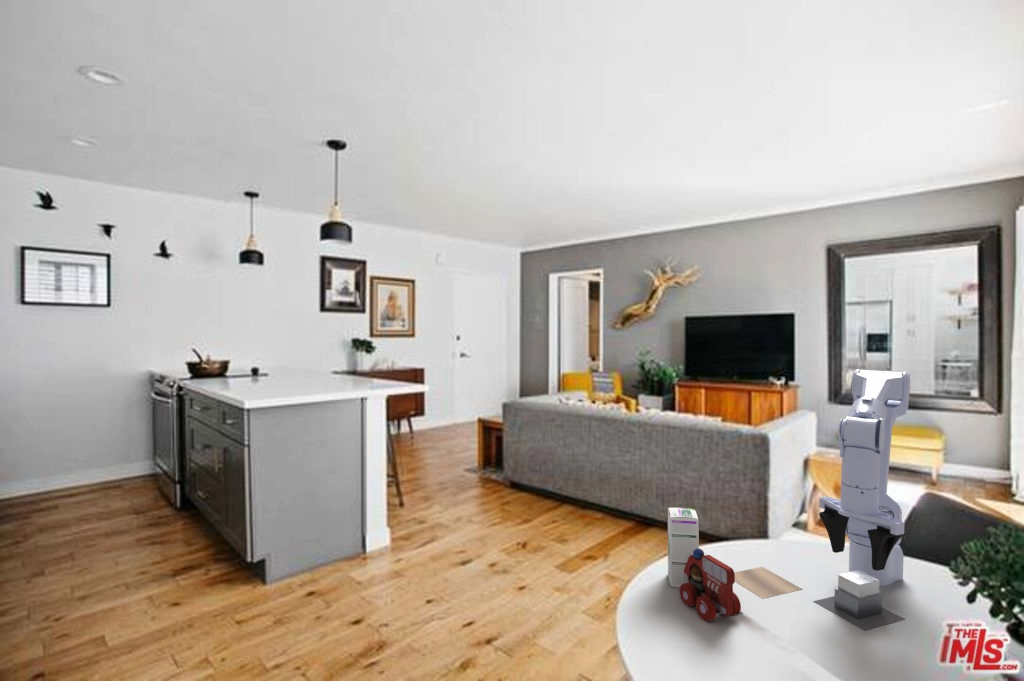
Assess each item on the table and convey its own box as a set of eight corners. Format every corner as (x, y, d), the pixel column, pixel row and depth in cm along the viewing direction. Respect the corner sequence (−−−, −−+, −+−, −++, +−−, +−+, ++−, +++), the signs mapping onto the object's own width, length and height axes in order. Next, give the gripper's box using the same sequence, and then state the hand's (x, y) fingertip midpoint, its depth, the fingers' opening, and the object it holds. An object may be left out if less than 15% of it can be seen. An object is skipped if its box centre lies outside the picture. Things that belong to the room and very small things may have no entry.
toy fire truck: (702, 589, 107) (703, 538, 107) (747, 623, 95) (748, 565, 95) (672, 595, 105) (673, 543, 104) (715, 630, 93) (716, 571, 93)
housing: (857, 600, 100) (858, 569, 100) (881, 613, 96) (882, 580, 95) (834, 606, 98) (835, 574, 98) (857, 619, 94) (858, 586, 93)
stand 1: (762, 573, 114) (762, 566, 114) (802, 596, 104) (802, 589, 104) (724, 581, 110) (724, 574, 110) (762, 606, 101) (762, 598, 101)
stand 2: (851, 599, 103) (851, 591, 103) (905, 627, 94) (905, 619, 94) (812, 609, 100) (812, 601, 100) (864, 639, 90) (864, 630, 90)
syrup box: (699, 590, 107) (700, 518, 106) (668, 587, 108) (669, 516, 107) (695, 576, 112) (696, 508, 112) (666, 573, 114) (667, 506, 113)
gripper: (808, 475, 101) (805, 547, 102) (884, 499, 88) (881, 581, 88) (835, 472, 104) (833, 542, 104) (914, 495, 90) (911, 575, 90)
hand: (857, 560), depth 96 cm, fingers open, 7 cm apart
